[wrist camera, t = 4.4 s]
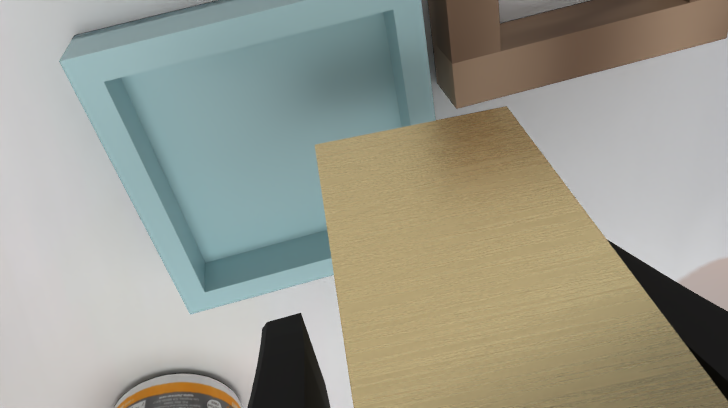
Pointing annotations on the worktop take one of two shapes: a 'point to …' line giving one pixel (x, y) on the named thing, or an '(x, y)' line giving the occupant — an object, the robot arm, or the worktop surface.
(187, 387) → the pill bottle
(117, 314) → the worktop surface
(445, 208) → the brass pin
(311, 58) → the tray
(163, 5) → the worktop surface
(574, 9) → the holder block
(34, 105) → the worktop surface
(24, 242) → the worktop surface
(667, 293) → the robot arm
